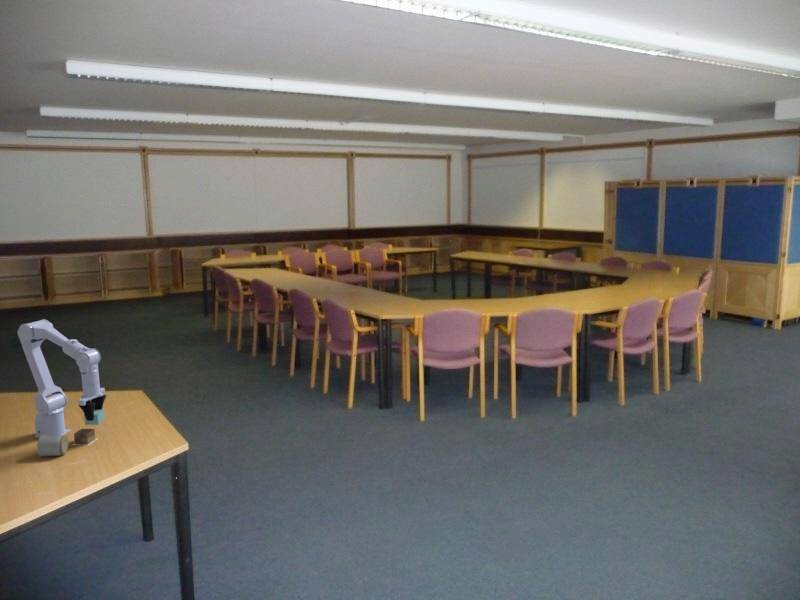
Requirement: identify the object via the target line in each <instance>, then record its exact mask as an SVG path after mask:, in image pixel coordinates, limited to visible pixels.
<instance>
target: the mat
mask: <svg viewBox="0 0 800 600" xmlns="http://www.w3.org/2000/svg"><path fill="white" fill-rule="evenodd" d="M98 439H99V437H97V438H96V437H95V440H93V441H92V442H91V443H89V444H75V442H74V443H73V444H71V445H72V446H90V445H92V444H93V443H94V442H96V441H97V440H98Z"/></svg>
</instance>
